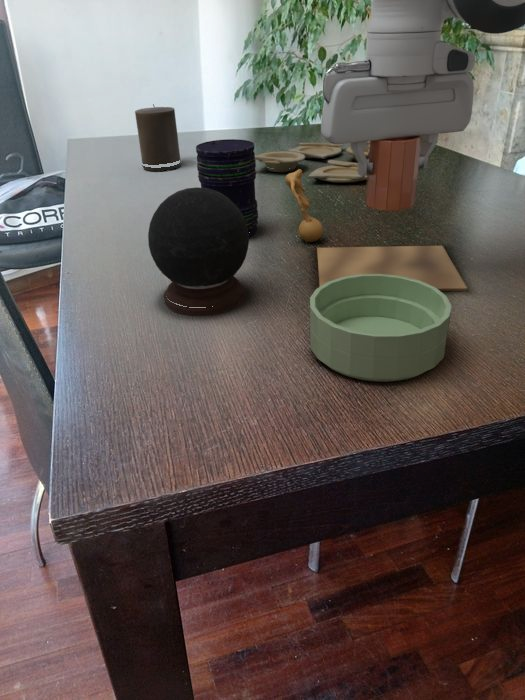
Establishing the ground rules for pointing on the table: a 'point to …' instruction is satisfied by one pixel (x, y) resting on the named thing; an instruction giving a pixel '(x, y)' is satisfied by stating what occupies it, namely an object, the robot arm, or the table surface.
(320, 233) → the figurine
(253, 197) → the storage jar
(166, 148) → the pillar candle
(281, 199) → the table surface
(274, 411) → the table surface
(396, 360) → the bowl
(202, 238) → the black ball on stand
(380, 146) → the cup
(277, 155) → the tableware set
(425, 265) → the placemat
